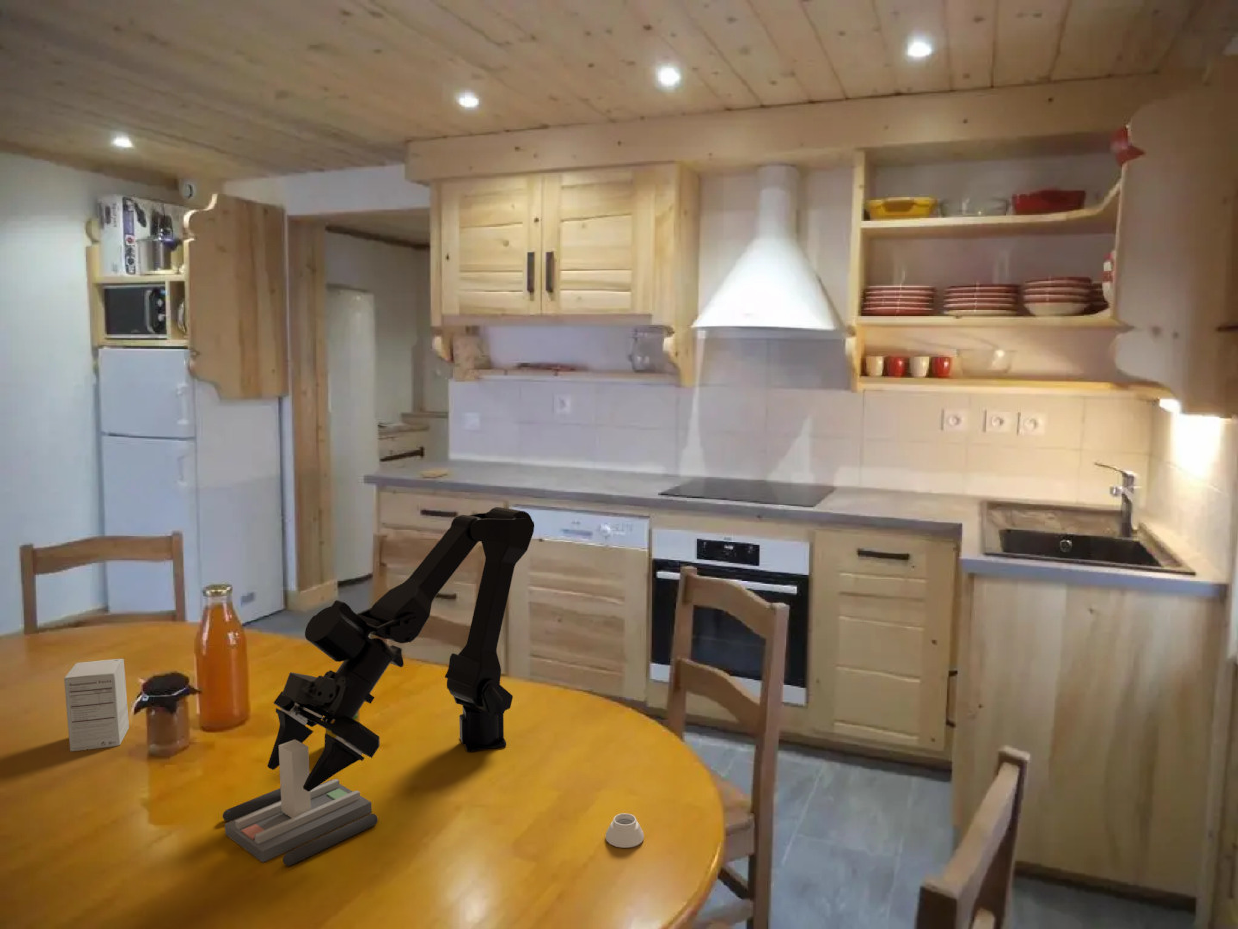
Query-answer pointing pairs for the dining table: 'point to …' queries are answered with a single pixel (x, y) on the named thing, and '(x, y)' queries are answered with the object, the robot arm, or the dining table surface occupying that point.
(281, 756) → the handle
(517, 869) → the dining table surface
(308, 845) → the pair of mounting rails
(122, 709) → the supplement box
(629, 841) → the lidless jar
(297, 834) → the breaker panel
